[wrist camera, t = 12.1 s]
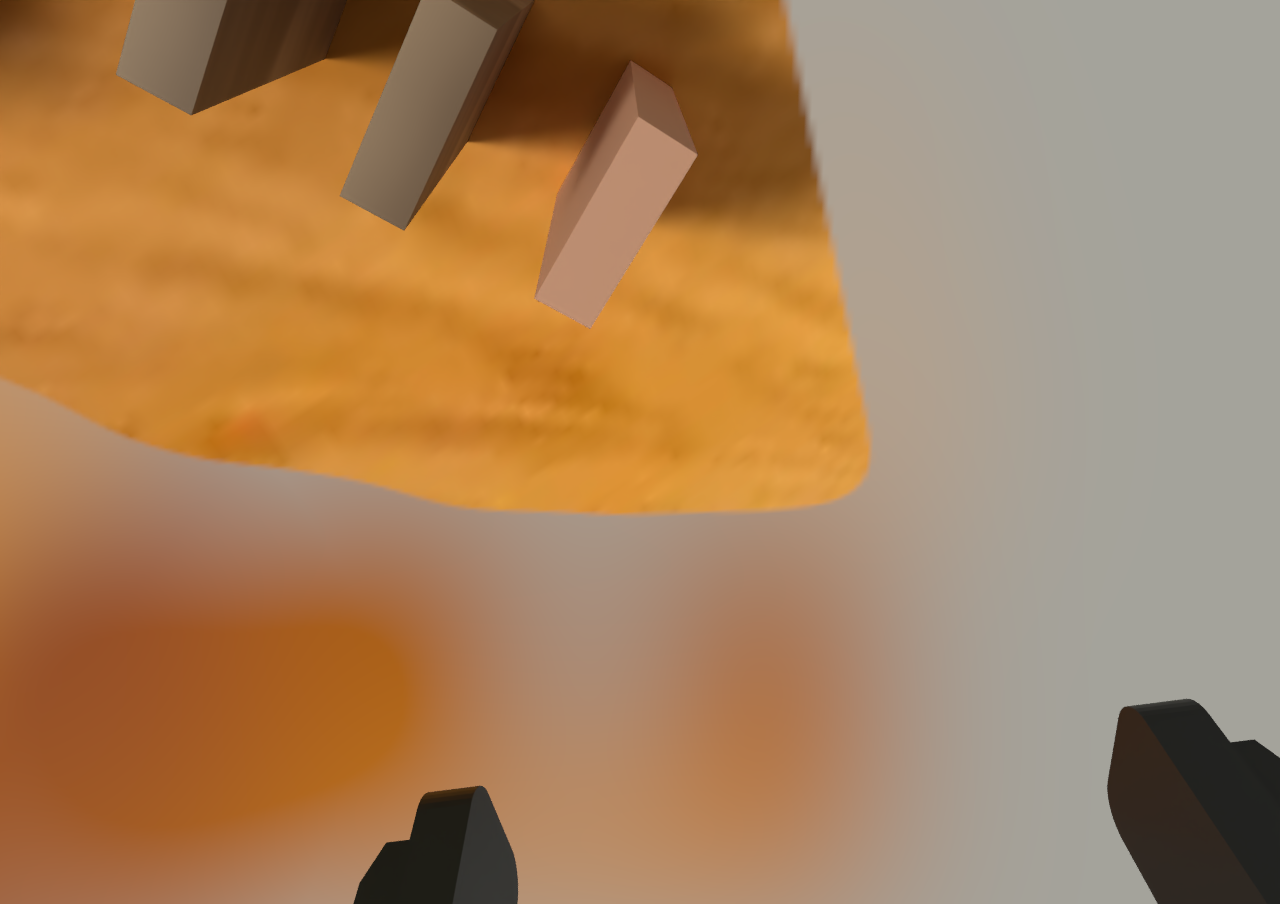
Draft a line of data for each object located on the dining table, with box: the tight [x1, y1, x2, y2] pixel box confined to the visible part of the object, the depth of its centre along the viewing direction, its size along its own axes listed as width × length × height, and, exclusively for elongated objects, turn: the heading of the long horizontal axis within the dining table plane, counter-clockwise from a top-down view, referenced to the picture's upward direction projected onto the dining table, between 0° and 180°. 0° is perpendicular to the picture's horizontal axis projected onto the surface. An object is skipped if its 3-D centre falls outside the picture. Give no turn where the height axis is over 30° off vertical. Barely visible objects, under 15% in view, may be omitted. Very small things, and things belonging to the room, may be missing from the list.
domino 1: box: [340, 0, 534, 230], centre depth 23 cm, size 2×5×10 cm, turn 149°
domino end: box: [534, 60, 698, 329], centre depth 24 cm, size 2×5×10 cm, turn 149°
